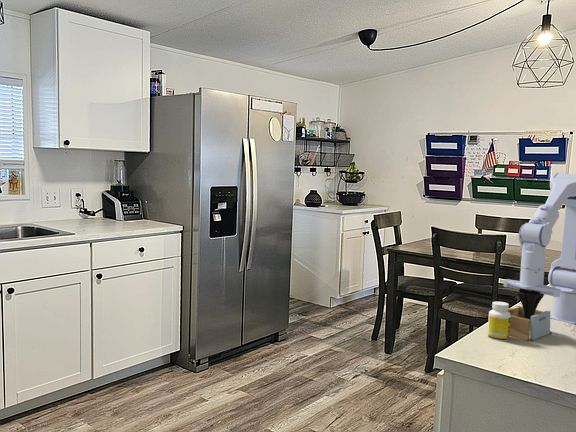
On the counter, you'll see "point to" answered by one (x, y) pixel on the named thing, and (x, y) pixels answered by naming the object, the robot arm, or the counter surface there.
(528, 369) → the counter surface
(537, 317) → the panel
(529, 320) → the box
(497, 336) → the supplement bottle
